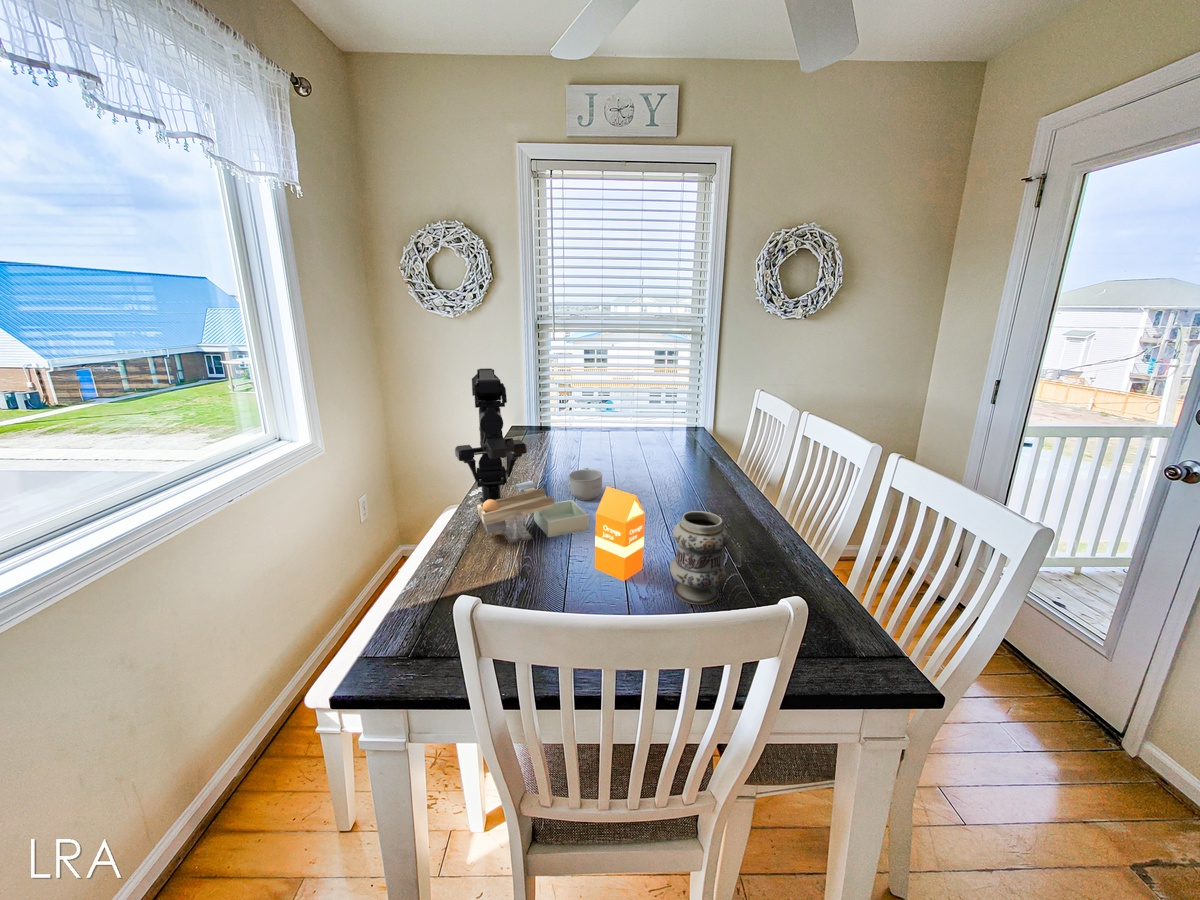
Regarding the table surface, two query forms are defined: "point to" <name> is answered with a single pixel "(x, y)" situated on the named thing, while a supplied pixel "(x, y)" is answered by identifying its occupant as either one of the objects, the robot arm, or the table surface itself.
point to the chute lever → (515, 506)
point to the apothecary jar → (699, 557)
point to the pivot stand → (516, 530)
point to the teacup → (585, 484)
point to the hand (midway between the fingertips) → (492, 479)
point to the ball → (490, 505)
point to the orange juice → (619, 534)
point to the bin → (562, 519)
